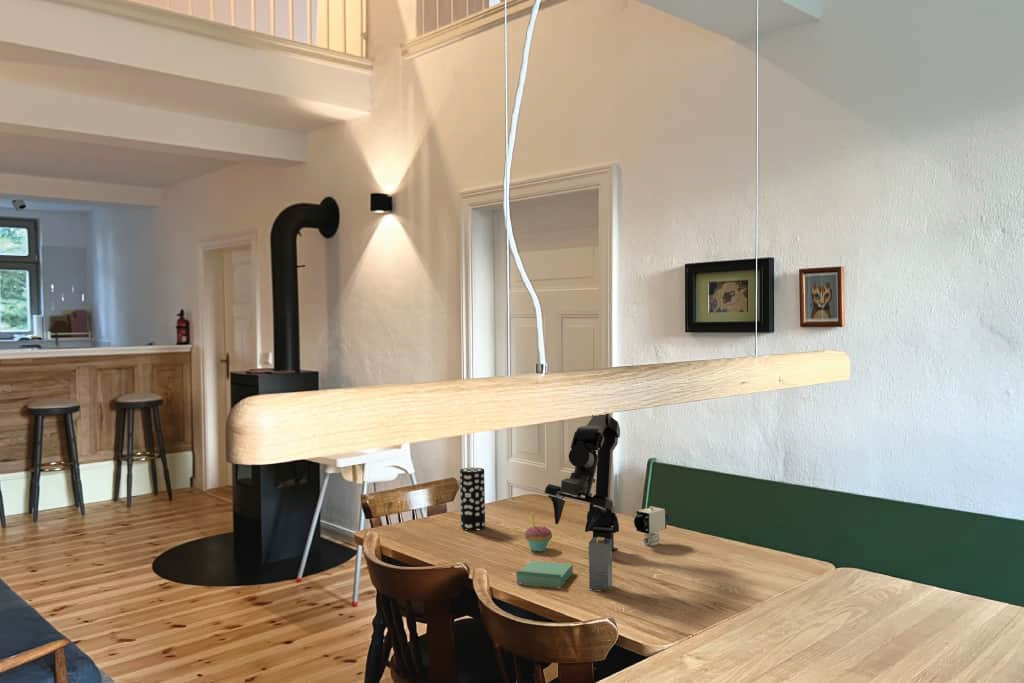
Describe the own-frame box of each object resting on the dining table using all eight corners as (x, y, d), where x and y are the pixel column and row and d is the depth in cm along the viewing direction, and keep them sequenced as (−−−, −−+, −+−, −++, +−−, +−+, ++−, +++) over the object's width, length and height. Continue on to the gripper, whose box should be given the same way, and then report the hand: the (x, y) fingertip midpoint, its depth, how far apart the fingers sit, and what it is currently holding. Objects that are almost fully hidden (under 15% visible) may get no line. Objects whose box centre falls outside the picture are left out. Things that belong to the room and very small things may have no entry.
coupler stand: (531, 569, 219) (531, 557, 219) (572, 573, 215) (572, 560, 215) (516, 583, 206) (516, 571, 206) (560, 588, 202) (559, 575, 202)
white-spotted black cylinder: (457, 526, 267) (456, 469, 266) (479, 523, 270) (478, 466, 270) (466, 532, 259) (465, 473, 259) (489, 529, 263) (488, 470, 262)
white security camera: (669, 542, 243) (669, 504, 243) (645, 550, 235) (644, 510, 235) (655, 539, 247) (655, 501, 247) (631, 546, 240) (631, 507, 239)
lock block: (593, 584, 205) (593, 534, 205) (612, 585, 204) (611, 535, 203) (589, 590, 201) (588, 539, 200) (608, 592, 199) (607, 540, 199)
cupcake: (528, 554, 233) (528, 515, 233) (521, 546, 241) (520, 508, 241) (555, 551, 235) (555, 512, 235) (547, 544, 243) (546, 506, 243)
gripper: (542, 460, 213) (528, 516, 209) (603, 473, 203) (590, 532, 199) (560, 468, 222) (546, 521, 218) (619, 480, 212) (606, 537, 208)
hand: (571, 527), depth 211 cm, fingers open, 9 cm apart
